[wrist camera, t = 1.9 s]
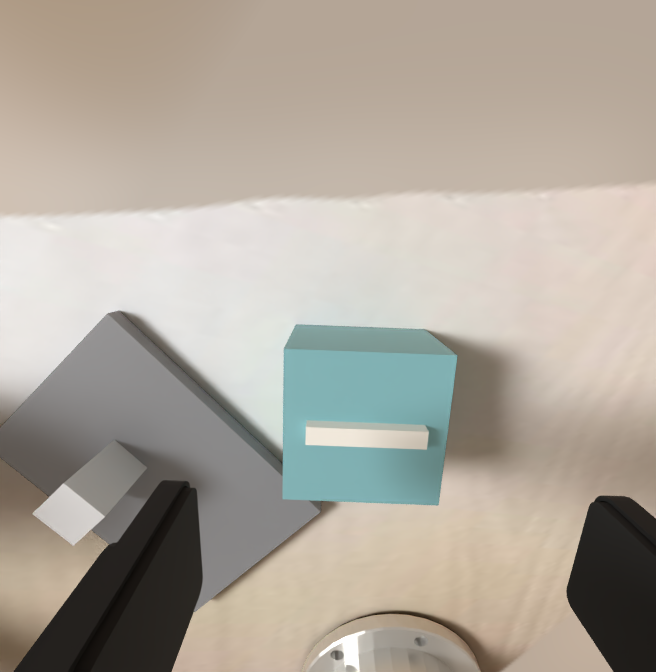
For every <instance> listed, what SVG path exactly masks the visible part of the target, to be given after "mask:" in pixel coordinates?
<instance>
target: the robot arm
mask: <svg viewBox="0 0 656 672" xmlns="http://www.w3.org/2000/svg"><path fill="white" fill-rule="evenodd" d="M202 582H203V571H202V556H201V542H200V527H199V513H198V498H197V490H196V488H190V484H189V482H188V481H177V480H163V481H161V482H160V483H159V484H158V486H157V487H156V489H155V490H154V491H153V493H152V494H151V496H150V497H149V498H148V500H147V501H146V503H145V504H144V506H143V507H142V508H141V510H140V511H139V513H138V514H137V515H136V517H135V518H134V520H133V521H132V522H131V524H130V525H129V527H128V528H127V529H126V531H125V532H124V534H123V535H122V536H121V538H120V539H119V541H118V542H117V543H112V544H110V545H108V546H107V547H106V548H105V549H104V551H103V552H102V553H101V554H100V555H99V557H98V558H97V560H96V561H95V562H94V564H93V565H92V566H91V568H90V569H89V570H88V572H87V573H86V574H85V576H84V577H83V578H82V580H81V581H80V583H79V584H78V585H77V587H76V588H75V589H74V591H73V592H72V593H71V595H70V596H69V597H68V599H67V600H66V601H65V603H64V604H63V606H62V607H61V608H60V610H59V611H58V612H57V614H56V615H55V616H54V618H53V619H52V620H51V622H50V623H49V624H48V626H47V627H46V628H45V630H44V631H43V633H42V634H41V635H40V637H39V638H38V639H37V641H36V642H35V643H34V645H33V646H32V647H31V649H30V650H29V651H28V653H27V654H26V656H25V657H24V658H23V660H22V661H21V662H20V664H19V665H18V666H17V668H16V669H15V670H14V672H171V671H172V669H173V666H174V663H175V661H176V658H177V655H178V652H179V650H180V647H181V644H182V642H183V639H184V636H185V634H186V631H187V628H188V626H189V623H190V620H191V617H192V615H193V612H194V609H195V607H196V604H197V601H198V599H199V596H200V592H201V588H202ZM567 598H568V601H569V604H570V606H571V608H572V610H573V611H574V613H575V614H576V616H577V617H578V619H579V620H580V622H581V623H582V625H583V626H584V628H585V629H586V631H587V632H588V634H589V635H590V637H591V638H592V639H593V641H594V643H595V644H596V646H597V647H598V649H599V650H600V652H601V653H602V655H603V656H604V658H605V659H606V661H607V662H608V664H609V666H610V667H611V668H612V670H613V672H656V519H655V518H654V517H653V516H652V515H651V514H650V513H648V512H647V511H646V510H645V509H644V508H642V507H641V506H640V505H639V504H638V503H636V502H635V501H634V500H632V499H631V498H629V497H625V496H598V497H597V498H596V499H595V501H594V502H592V503H591V504H590V506H589V509H588V512H587V516H586V520H585V523H584V527H583V531H582V534H581V538H580V542H579V545H578V549H577V553H576V556H575V560H574V564H573V567H572V571H571V575H570V578H569V582H568V586H567ZM301 672H481V671H480V668H479V665H478V663H477V660H476V658H475V655H474V654H473V652H472V651H471V649H470V648H469V647H468V645H467V644H466V643H465V642H464V641H463V640H462V639H461V638H460V637H459V636H458V635H457V634H456V633H454V632H452V631H451V630H449V629H447V628H446V627H444V626H443V625H440V624H438V623H435V622H433V621H430V620H428V619H425V618H421V617H416V616H411V615H403V614H382V615H372V616H368V617H364V618H360V619H356V620H354V621H351V622H349V623H347V624H344V625H342V626H340V627H338V628H337V629H335V630H334V631H332V632H330V633H329V634H327V635H326V636H325V637H324V638H323V639H322V640H321V641H320V642H319V643H317V644H316V645H315V646H314V648H313V649H312V651H311V652H310V654H309V655H308V657H307V658H306V661H305V663H304V666H303V668H302V671H301Z"/></svg>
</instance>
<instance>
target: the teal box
mask: <svg viewBox="0 0 656 672" xmlns="http://www.w3.org/2000/svg"><path fill="white" fill-rule="evenodd" d="M457 356H458V355H456V354H455V353H454V352H453V351H451V350H450V349H449V348H448V347H446V346H445V345H444V344H443V343H441V342H440V341H439V340H437V339H436V338H435V337H434V336H432V335H431V334H430V333H429V332H427V331H426V330H424V329H398V328H373V327H347V326H321V325H296V326H295V328H294V330H293V332H292V334H291V336H290V338H289V340H288V342H287V344H286V346H285V347H284V390H283V499H288V500H313V501H339V502H365V503H391V504H416V505H439V497H440V489H441V481H442V474H443V466H444V458H445V450H446V442H447V434H448V426H449V419H450V411H451V403H452V395H453V387H454V379H455V371H456V364H457Z"/></svg>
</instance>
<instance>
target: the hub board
mask: <svg viewBox="0 0 656 672" xmlns="http://www.w3.org/2000/svg"><path fill="white" fill-rule="evenodd" d="M0 458H1V459H2V460H4V461H5V462H6V463H7V464H9V465H10V466H11V467H12V468H14V469H15V470H16V471H18V472H19V473H20V474H21V475H23V476H24V477H25V478H26V479H28V480H29V481H30V482H31V483H33V484H34V485H35V486H36V487H38V488H39V489H40V490H41V491H43V492H44V493H45V494H47V495H48V496H49V498H48V499H47V500H46V501H45V502H44V503H43V504H42V505H41V506H40V507H39V508H37V509H36V510H35V511H34V512H33V513H32V514H33V515H34V516H35V517H37V518H38V519H39V520H41V521H42V522H43V523H44V524H46V525H47V526H48V527H50V528H51V529H52V530H53V531H55V532H56V533H57V534H59V535H60V536H61V537H62V538H64V539H65V540H66V541H68V542H69V543H70V544H71V545H73V546H74V545H75V544H76V543H77V542H78V541H79V540H80V539H81V538H82V537H84V536H85V535H86V534H87V533H88V532H89V531H90V530H92V531H93V532H94V533H96V534H97V535H98V536H99V537H101V538H102V539H103V540H105V541H106V542H107V543H108V544H112V543H117V542H118V541H119V539H120V538H121V536H122V535H123V534H124V532H125V531H126V529H127V528H128V527H129V525H130V524H131V522H132V521H133V520H134V518H135V517H136V515H137V514H138V513H139V511H140V510H141V508H142V507H143V506H144V504H145V503H146V501H147V500H148V498H149V497H150V496H151V494H152V493H153V491H154V490H155V489H156V487H157V486H158V484H159V483H160V482H161V481H163V480H177V481H188V482H189V484H190V488H196V490H197V498H198V513H199V527H200V542H201V556H202V571H203V582H202V588H201V592H200V596H199V599H198V601H197V604H196V607H195V609H194V612H195V611H197V610H198V609H199V608H200V607H202V606H203V605H204V604H205V603H207V602H208V601H209V600H210V599H212V598H213V597H214V596H216V595H217V594H218V593H219V592H221V591H222V590H223V589H224V588H226V587H227V586H228V585H229V584H231V583H232V582H233V581H234V580H236V579H237V578H238V577H239V576H241V575H242V574H243V573H244V572H246V571H247V570H248V569H250V568H251V567H252V566H253V565H255V564H256V563H257V562H258V561H260V560H261V559H262V558H263V557H265V556H266V555H267V554H268V553H270V552H271V551H272V550H273V549H275V548H276V547H277V546H278V545H280V544H281V543H282V542H284V541H285V540H286V539H287V538H289V537H290V536H291V535H292V534H294V533H295V532H296V531H297V530H299V529H300V528H301V527H302V526H304V525H305V524H306V523H307V522H309V521H310V520H311V519H312V518H314V517H315V516H316V515H318V514H319V513H320V512H321V501H313V500H288V499H283V464H282V463H281V462H280V461H279V460H278V459H277V458H276V457H275V456H274V455H273V454H271V453H270V452H269V451H268V450H267V449H266V448H265V447H264V446H263V445H262V444H261V443H260V442H259V441H258V440H256V439H255V438H254V437H253V436H252V435H251V434H250V433H249V432H248V431H247V430H246V429H245V428H244V427H243V426H242V425H240V424H239V423H238V422H237V421H236V420H235V419H234V418H233V417H232V416H231V415H230V414H229V413H228V412H227V411H226V410H224V409H223V408H222V407H221V406H220V405H219V404H218V403H217V402H216V401H215V400H214V399H213V398H212V397H211V396H210V395H208V394H207V393H206V392H205V391H204V390H203V389H202V388H201V387H200V386H199V385H198V384H197V383H196V382H195V381H194V380H192V379H191V378H190V377H189V376H188V375H187V374H186V373H185V372H184V371H183V370H182V369H181V368H180V367H179V366H177V365H176V364H175V363H174V362H173V361H172V360H171V359H170V358H169V357H168V356H167V355H166V354H165V353H164V352H163V351H161V350H160V349H159V348H158V347H157V346H156V345H155V344H154V343H153V342H152V341H151V340H150V339H149V338H148V337H147V336H145V335H144V334H143V333H142V332H141V331H140V330H139V329H138V328H137V327H136V326H135V325H134V324H133V323H132V322H131V321H129V320H128V319H127V318H126V317H125V316H124V315H123V314H122V313H121V312H120V311H116V312H112V313H108V314H107V315H106V316H105V317H104V318H103V319H102V320H101V321H100V322H99V323H98V324H97V325H96V326H95V327H94V328H93V329H92V330H91V332H90V333H89V334H88V335H87V336H86V337H85V338H84V339H83V340H82V341H81V342H80V343H79V344H78V345H77V346H76V347H75V349H74V350H73V351H72V352H71V353H70V354H69V355H68V356H67V357H66V358H65V359H64V360H63V361H62V362H61V363H60V364H59V366H58V367H57V368H56V369H55V370H54V371H53V372H52V373H51V374H50V375H49V376H48V377H47V378H46V379H45V380H44V381H43V383H42V384H41V385H40V386H39V387H38V388H37V389H36V390H35V391H34V392H33V393H32V394H31V395H30V396H29V397H28V398H27V400H26V401H25V402H24V403H23V404H22V405H21V406H20V407H19V408H18V409H17V410H16V411H15V412H14V413H13V414H12V415H11V417H10V418H9V419H8V420H7V421H6V422H5V423H4V424H3V425H2V426H1V427H0Z"/></svg>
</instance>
